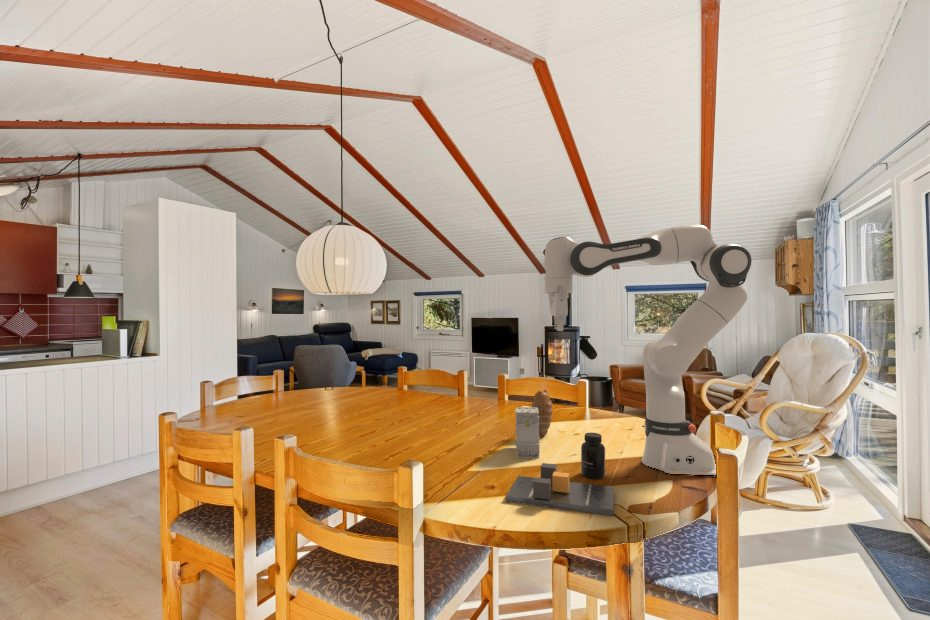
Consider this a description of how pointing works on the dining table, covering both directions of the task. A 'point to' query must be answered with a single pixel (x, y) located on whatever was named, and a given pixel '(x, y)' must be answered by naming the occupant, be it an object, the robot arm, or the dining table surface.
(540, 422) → the brown ribbed ovoid
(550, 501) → the panel
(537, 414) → the circuit breaker
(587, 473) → the supplement bottle
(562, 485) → the toggle
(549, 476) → the toggle
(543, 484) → the toggle
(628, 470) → the dining table surface
